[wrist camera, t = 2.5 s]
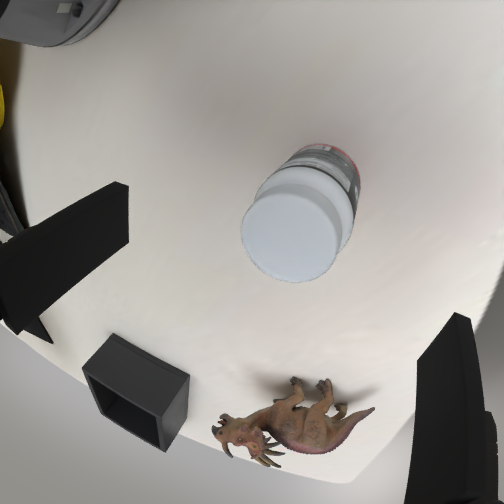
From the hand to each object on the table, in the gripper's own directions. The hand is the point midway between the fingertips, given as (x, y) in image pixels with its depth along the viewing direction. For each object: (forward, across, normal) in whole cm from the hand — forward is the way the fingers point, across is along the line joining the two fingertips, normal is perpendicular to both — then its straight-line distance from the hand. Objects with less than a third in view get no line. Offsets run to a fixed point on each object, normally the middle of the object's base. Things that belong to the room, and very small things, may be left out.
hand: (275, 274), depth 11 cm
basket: (+10, -13, -34) cm, 38 cm away
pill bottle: (+10, 0, 0) cm, 10 cm away
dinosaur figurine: (+11, +6, -21) cm, 24 cm away
